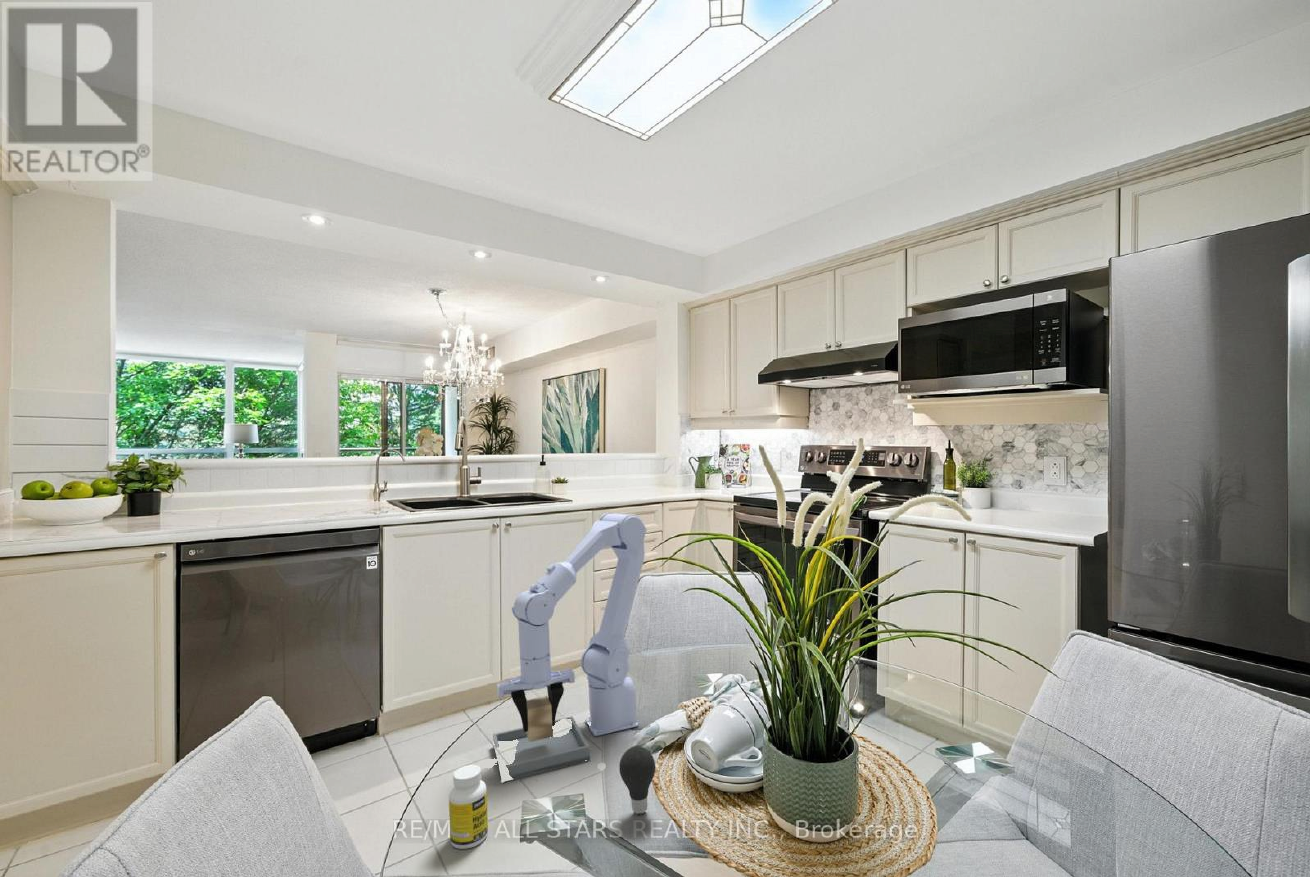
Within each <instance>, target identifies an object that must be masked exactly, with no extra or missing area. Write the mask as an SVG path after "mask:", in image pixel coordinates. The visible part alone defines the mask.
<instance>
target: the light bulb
mask: <svg viewBox="0 0 1310 877" xmlns="http://www.w3.org/2000/svg"><path fill="white" fill-rule="evenodd" d="M618 766H619V767H618V768H619V774H620V777H621V779H622V782H623V783H624V785H625V787H626V788H627V790H628V793H629V796H630V800H631V809H632V811H633V813H636V814H637V813H638V814H641V813H643V814H644V813H645V812H646V811H647V810H648V795H649V789H650V785H651V784H652V780H653V779H654V776H655V772H656V763H655V759H654V756H653V754H652V753H651V752H650V750H648V749H647V748H645V747H643V746H639V745H637V746H631V747H630V748H628V749H627V750H625V752H624V753H623V754H622V756H621V758H620V761H619V765H618ZM638 814H637V815H638Z"/></svg>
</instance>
